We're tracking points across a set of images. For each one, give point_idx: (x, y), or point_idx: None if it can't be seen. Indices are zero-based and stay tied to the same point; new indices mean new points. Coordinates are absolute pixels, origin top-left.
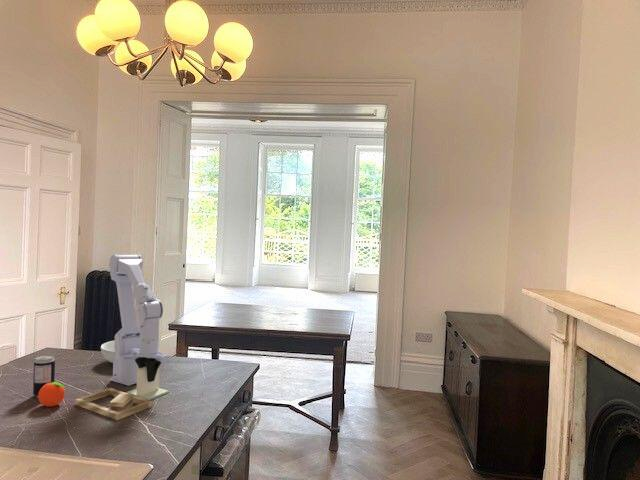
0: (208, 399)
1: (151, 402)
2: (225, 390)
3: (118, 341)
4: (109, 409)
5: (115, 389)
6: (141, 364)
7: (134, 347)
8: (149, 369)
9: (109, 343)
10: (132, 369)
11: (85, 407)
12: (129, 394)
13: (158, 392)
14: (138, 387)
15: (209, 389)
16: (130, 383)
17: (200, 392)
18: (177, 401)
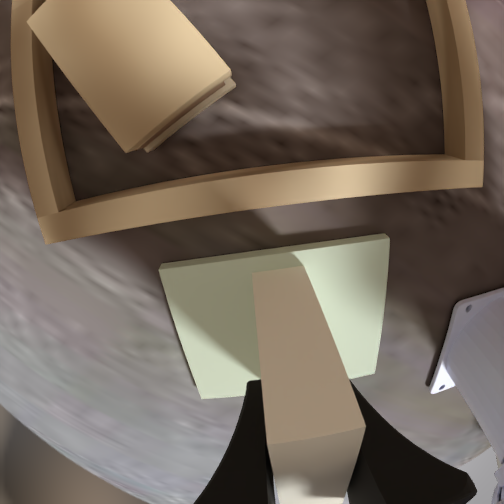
0: (45, 412)
1: (48, 236)
2: (102, 468)
3: None
4: None
5: (447, 188)
6: (372, 487)
7: None
8: (214, 481)
9: None
10: (498, 378)
11: None
12: (145, 131)
13: (219, 362)
14: (292, 296)
15: (137, 462)
16: (458, 319)
17: (124, 441)
18: (68, 351)
